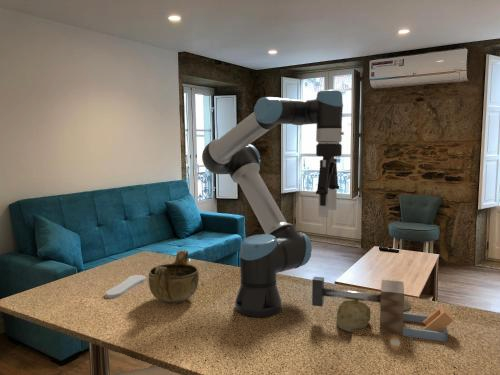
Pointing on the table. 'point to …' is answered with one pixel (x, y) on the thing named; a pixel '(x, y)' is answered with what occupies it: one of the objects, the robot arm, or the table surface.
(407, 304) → the sea urchin shell
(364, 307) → the decorative item
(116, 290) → the long curved white strip
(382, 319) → the block
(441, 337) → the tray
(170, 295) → the ceramic bowl
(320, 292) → the shaft
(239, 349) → the table surface
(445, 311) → the spacer
